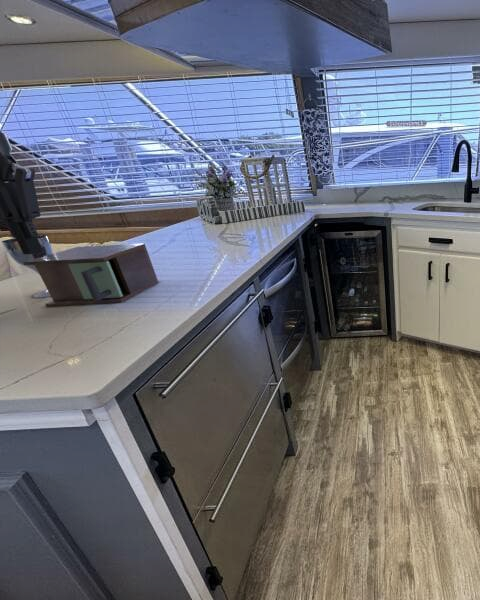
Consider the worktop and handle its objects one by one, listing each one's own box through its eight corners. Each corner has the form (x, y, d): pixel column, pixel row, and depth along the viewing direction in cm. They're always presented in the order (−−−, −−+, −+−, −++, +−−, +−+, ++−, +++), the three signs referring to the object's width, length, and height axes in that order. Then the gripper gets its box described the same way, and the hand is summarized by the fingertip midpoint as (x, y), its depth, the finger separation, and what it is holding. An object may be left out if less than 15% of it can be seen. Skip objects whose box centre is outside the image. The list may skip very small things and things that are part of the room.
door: (68, 306, 75) (50, 269, 72) (86, 298, 80) (70, 262, 76) (107, 304, 76) (90, 267, 72) (123, 296, 80) (108, 260, 77)
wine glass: (25, 296, 86) (-5, 241, 80) (62, 286, 93) (37, 234, 87) (40, 299, 83) (10, 242, 77) (78, 289, 90) (53, 235, 84)
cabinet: (46, 306, 79) (22, 262, 74) (94, 285, 92) (76, 246, 88) (121, 302, 80) (103, 257, 75) (158, 282, 93) (144, 243, 88)
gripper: (30, 129, 63) (80, 247, 73) (-41, 131, 62) (19, 249, 72) (-12, 125, 56) (49, 256, 66) (-92, 127, 56) (-19, 258, 65)
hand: (33, 252), depth 69 cm, fingers closed
